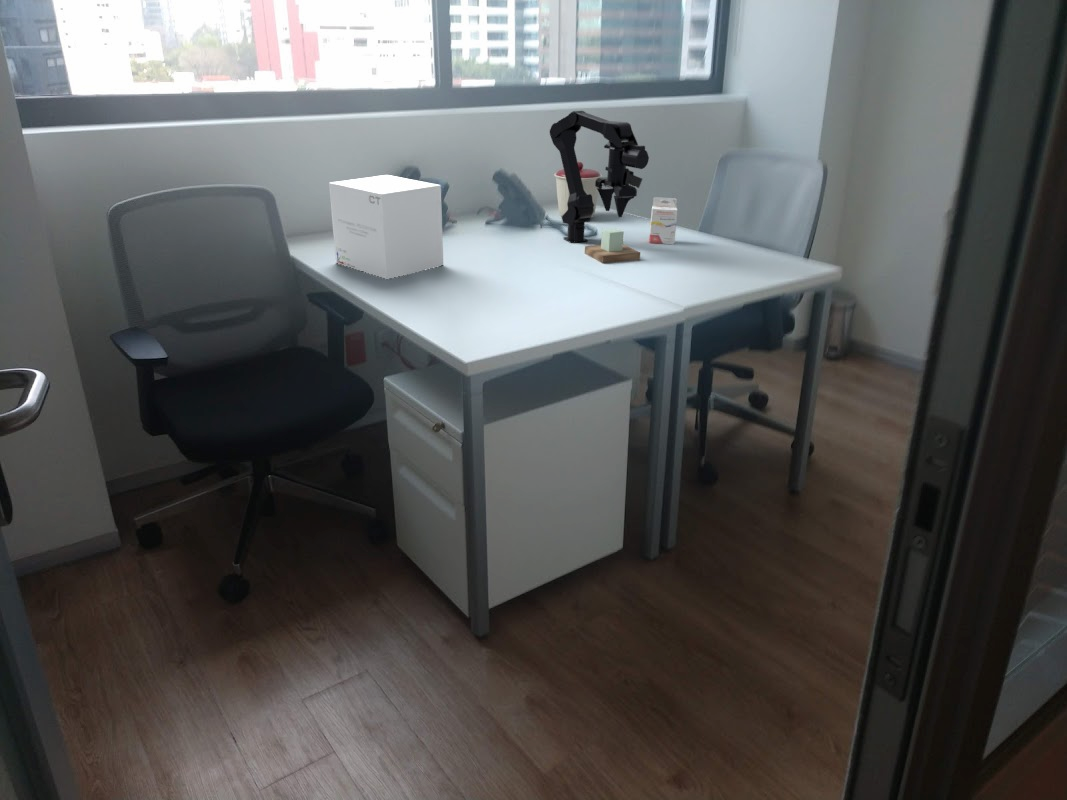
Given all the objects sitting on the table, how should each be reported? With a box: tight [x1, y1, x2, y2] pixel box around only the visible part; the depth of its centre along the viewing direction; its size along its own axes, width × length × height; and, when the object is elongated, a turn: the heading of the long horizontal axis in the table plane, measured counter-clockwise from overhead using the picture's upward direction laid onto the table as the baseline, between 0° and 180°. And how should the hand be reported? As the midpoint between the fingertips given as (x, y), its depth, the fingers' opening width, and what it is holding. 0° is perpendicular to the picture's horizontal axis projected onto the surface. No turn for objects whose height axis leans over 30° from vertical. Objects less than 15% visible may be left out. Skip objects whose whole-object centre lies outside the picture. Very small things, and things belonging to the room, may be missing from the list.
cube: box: [328, 174, 444, 280], centre depth 240 cm, size 25×21×24 cm
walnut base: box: [584, 243, 641, 264], centre depth 258 cm, size 13×13×3 cm
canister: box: [553, 161, 603, 219], centre depth 307 cm, size 18×18×21 cm
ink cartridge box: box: [648, 197, 678, 245], centre depth 274 cm, size 9×5×15 cm, turn 84°
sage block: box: [600, 227, 625, 252], centre depth 256 cm, size 5×5×6 cm
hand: (613, 214), depth 262 cm, fingers open, 9 cm apart
